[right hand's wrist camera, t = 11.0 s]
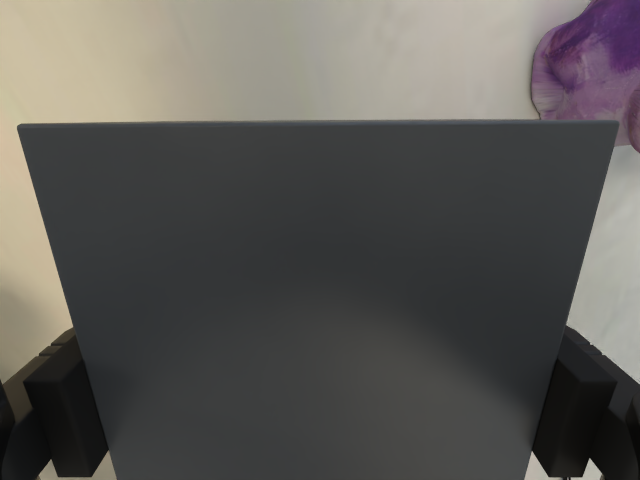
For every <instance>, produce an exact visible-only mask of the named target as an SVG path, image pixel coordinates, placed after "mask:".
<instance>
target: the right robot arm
mask: <svg viewBox="0 0 640 480" xmlns="http://www.w3.org/2000/svg"><path fill="white" fill-rule="evenodd" d="M108 450H109V449H108V446H107V442H106V439H105V435H104V432H103V428H102V425H101V421H100V418H99V414H98V411H97V407H96V404H95V400H94V397H93V393H92V390H91V386H90V383H89V379H88V376H87V372H86V369H85V365H84V362H83V358H82V355H81V351H80V348H79V344H78V341H77V337H76V334H75V330H74V327H73V328H71V329H69V330H67V331H65V332H64V333H63V334H62V335H61V336H59V337H58V338H57V339H56V340H55V341H54V342H52V343H51V346H48V347H46V348H45V349H44V350H43V351H42V352H41V353H39V356H36V357H35V358H34V359H32V360H31V361H30V362H29V363H28V364H27V365H25V366H24V367H23V368H22V369H21V370H19V371H18V372H17V373H16V374H15V375H14V376H12V377H11V378H10V379H9V380H8V381H7V382H5V383H4V384H3V385H2V383H1V380H0V480H40V478H39V474H40V472H41V471H42V470H43V469H44V467H45V466H46V465H47V464H48V462H49V461H50V460H51V459H52V462H53V465H54V468H55V470H56V473H57V476H58V477H92V476H93V474H94V472H95V471H96V469H97V468H98V466H99V464H100V463H101V461H102V460H103V458H104V456H105V455H106V453H107V452H108ZM532 451H533V453H534V454H535V456H536V458H537V459H538V461H539V462H540V464H541V466H542V467H543V469H544V470H545V472H546V473H547V475H548V477H583V474H584V471H585V468H586V466H587V463H588V460H589V458H590V459H591V460H592V461H593V462H594V464H595V465H596V466H597V468H598V469H599V470H600V471H601V473H602V475H601V478H600V480H640V384H638V383H637V382H636V381H635V380H634V379H632V378H631V377H630V376H629V375H628V374H627V373H625V372H624V371H623V370H622V369H621V368H619V367H618V366H617V365H616V364H615V363H613V362H612V361H611V360H610V359H609V358H608V357H606V356H605V355H602V352H600V351H599V350H598V349H597V348H596V347H595V346H593V345H590V342H589V341H587V340H586V339H585V338H584V337H583V336H582V335H580V334H579V333H578V332H577V331H576V330H574V329H572V328H570V327H568V326H565V330H564V333H563V337H562V341H561V344H560V348H559V352H558V356H557V359H556V363H555V367H554V370H553V374H552V378H551V382H550V385H549V389H548V393H547V396H546V400H545V404H544V407H543V411H542V415H541V419H540V422H539V426H538V430H537V433H536V437H535V441H534V445H533V448H532Z"/></svg>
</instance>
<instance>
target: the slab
mask: <svg viewBox="0 0 640 480" xmlns="http://www.w3.org/2000/svg"><path fill="white" fill-rule="evenodd" d="M619 126H620V123H619V121H616V120H484V119H458V120H304V121H163V122H99V123H34V124H20V125H18V126H17V130H18V134H19V137H20V141H21V144H22V148H23V151H24V155H25V158H26V162H27V165H28V169H29V172H30V176H31V179H32V183H33V186H34V190H35V193H36V197H37V200H38V204H39V207H40V211H41V214H42V218H43V221H44V225H45V228H46V232H47V235H48V239H49V242H50V246H51V249H52V253H53V256H54V260H55V264H56V267H57V271H58V274H59V278H60V281H61V285H62V288H63V292H64V295H65V299H66V302H67V306H68V309H69V313H70V316H71V320H72V323H73V327H74V330H75V334H76V337H77V341H78V344H79V348H80V351H81V355H82V358H83V362H84V365H85V369H86V372H87V376H88V379H89V383H90V386H91V390H92V393H93V397H94V400H95V404H96V407H97V411H98V414H99V418H100V421H101V425H102V428H103V432H104V435H105V439H106V442H107V446H108V449H109V453H110V456H111V460H112V463H113V467H114V470H115V474H116V477H117V480H524V478H525V474H526V471H527V467H528V463H529V459H530V456H531V452H532V448H533V445H534V441H535V437H536V433H537V430H538V426H539V422H540V419H541V415H542V411H543V407H544V404H545V400H546V396H547V393H548V389H549V385H550V382H551V378H552V374H553V370H554V367H555V363H556V359H557V356H558V352H559V348H560V344H561V341H562V337H563V333H564V330H565V326H566V322H567V319H568V315H569V311H570V307H571V304H572V300H573V296H574V293H575V289H576V285H577V281H578V278H579V274H580V270H581V267H582V263H583V259H584V255H585V252H586V248H587V244H588V241H589V237H590V233H591V230H592V226H593V222H594V218H595V215H596V211H597V207H598V204H599V200H600V196H601V192H602V189H603V185H604V181H605V178H606V174H607V170H608V166H609V163H610V159H611V155H612V152H613V148H614V144H615V141H616V137H617V133H618V129H619Z"/></svg>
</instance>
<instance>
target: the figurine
mask: <svg viewBox="0 0 640 480" xmlns="http://www.w3.org/2000/svg"><path fill="white" fill-rule="evenodd" d="M531 90H532V101H533V103H534V105H535V107H536V109H537V111H538V112H539V113H540V117H541V120H616V121H619V123H620V126H619V129H618V133H617V137H616V141H615V144H614V146H624V145H632V146H633V148H634V149H635V150H636V151H637V152H639V153H640V0H592V1H591V2H590V4H589V5H588V6H587V8H586V9H585V10H584V12H583V13H582V14H581V15H580V16H579V17H577V18H576V19H574V20H572V21H570V22H568V23H565V24H562V25H560V26H557V27H555V28H553V29H552V30H550V31H549V32H547V33H546V34H545V35H544V37H543V38H542V40H541V41H540V43H539V45H538V47H537V49H536V51H535V54H534V61H533V71H532V82H531Z"/></svg>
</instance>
